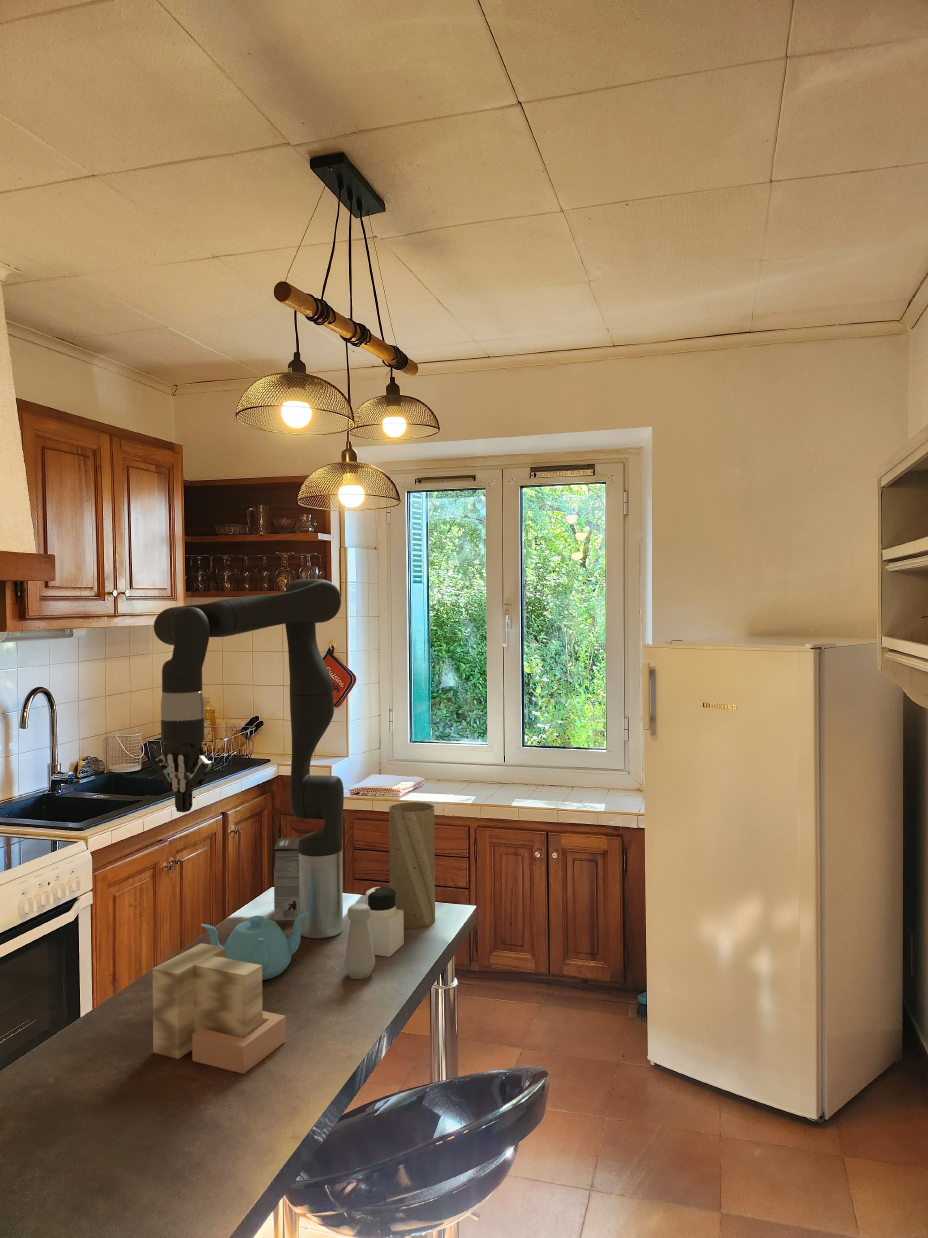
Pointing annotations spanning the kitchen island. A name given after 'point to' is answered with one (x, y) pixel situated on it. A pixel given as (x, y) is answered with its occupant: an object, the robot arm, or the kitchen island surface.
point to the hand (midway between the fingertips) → (183, 811)
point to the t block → (204, 998)
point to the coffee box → (286, 879)
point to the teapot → (261, 944)
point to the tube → (413, 861)
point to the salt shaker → (359, 943)
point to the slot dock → (239, 1045)
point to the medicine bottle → (384, 921)
